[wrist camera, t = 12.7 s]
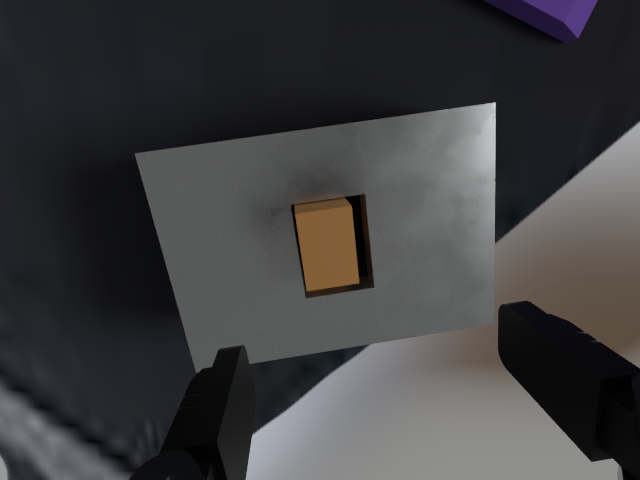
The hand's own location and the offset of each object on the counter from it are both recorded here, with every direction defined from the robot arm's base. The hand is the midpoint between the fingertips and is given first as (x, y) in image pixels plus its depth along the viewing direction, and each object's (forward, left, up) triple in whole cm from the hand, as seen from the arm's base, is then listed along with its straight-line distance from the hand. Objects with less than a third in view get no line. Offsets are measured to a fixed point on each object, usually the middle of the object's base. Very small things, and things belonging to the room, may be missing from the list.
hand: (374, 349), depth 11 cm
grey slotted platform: (0, 0, -19) cm, 19 cm away
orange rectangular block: (+1, -1, -19) cm, 19 cm away
